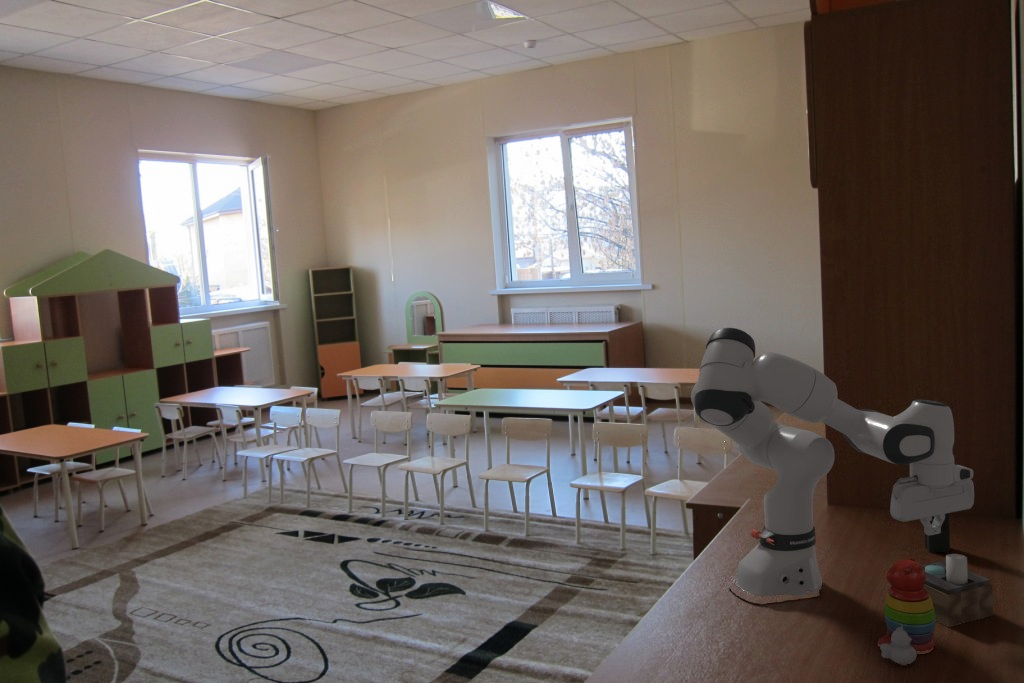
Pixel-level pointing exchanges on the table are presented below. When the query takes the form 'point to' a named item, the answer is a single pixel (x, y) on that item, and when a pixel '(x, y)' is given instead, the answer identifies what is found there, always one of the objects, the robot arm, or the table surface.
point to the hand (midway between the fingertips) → (932, 533)
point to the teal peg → (934, 570)
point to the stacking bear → (909, 605)
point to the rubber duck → (899, 647)
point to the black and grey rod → (939, 538)
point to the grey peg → (956, 569)
